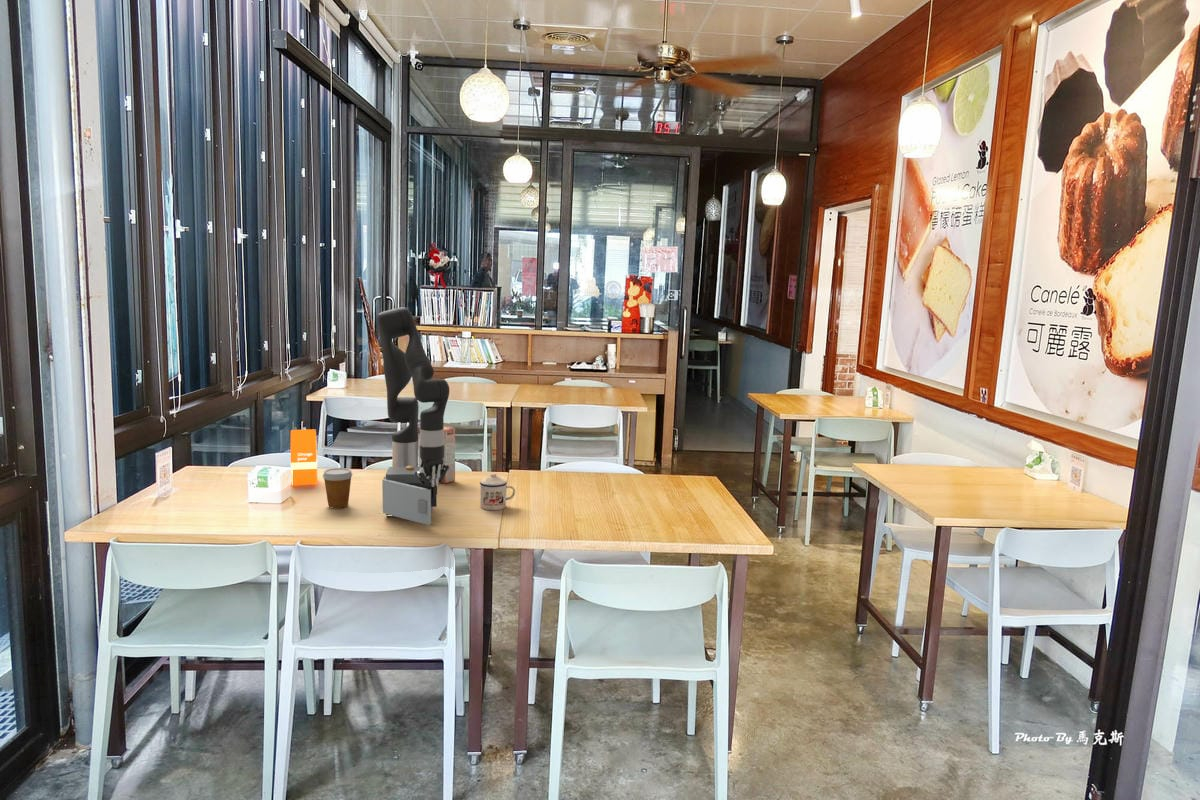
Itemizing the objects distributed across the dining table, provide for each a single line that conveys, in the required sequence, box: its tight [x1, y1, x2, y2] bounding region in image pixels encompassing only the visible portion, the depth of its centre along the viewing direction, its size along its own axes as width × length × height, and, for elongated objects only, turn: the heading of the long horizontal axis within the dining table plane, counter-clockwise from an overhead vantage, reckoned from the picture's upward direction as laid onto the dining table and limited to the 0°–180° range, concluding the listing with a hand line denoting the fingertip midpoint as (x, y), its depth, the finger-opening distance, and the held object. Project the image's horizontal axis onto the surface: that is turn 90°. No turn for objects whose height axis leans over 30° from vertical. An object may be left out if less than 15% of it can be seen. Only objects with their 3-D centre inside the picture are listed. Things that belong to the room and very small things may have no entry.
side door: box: [381, 478, 432, 526], centre depth 247 cm, size 2×20×11 cm, turn 58°
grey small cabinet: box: [383, 466, 438, 516], centre depth 259 cm, size 10×17×15 cm, turn 99°
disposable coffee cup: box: [322, 467, 353, 509], centre depth 263 cm, size 10×10×12 cm
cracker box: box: [418, 425, 456, 484], centre depth 299 cm, size 14×6×21 cm, turn 58°
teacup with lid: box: [479, 472, 516, 511], centre depth 268 cm, size 12×9×12 cm
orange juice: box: [290, 428, 319, 487], centre depth 290 cm, size 8×9×20 cm
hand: (432, 497), depth 245 cm, fingers closed
